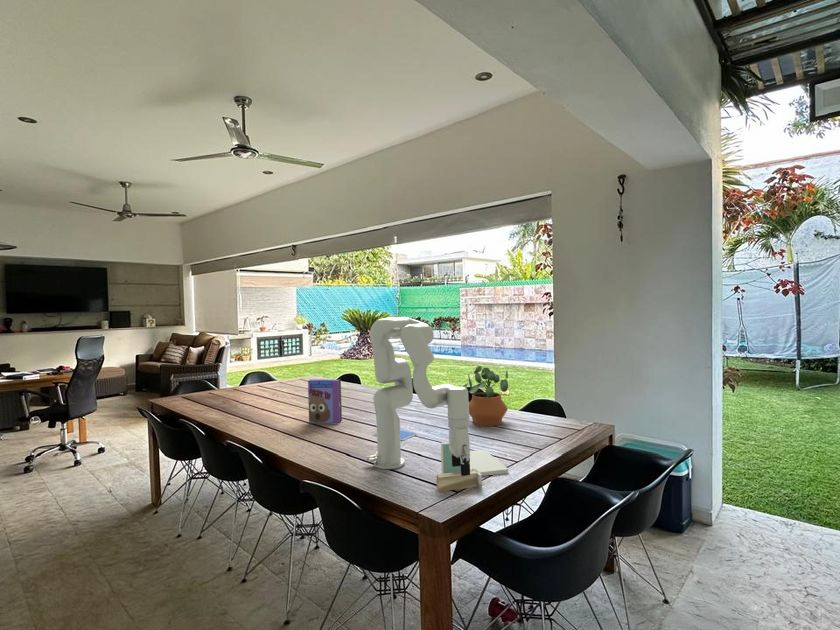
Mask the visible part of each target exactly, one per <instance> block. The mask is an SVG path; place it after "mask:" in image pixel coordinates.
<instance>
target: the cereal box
mask: <svg viewBox="0 0 840 630" xmlns="http://www.w3.org/2000/svg"><path fill="white" fill-rule="evenodd" d="M341 382H342V381H341V379H308V380H307V394H308V395H307V399H308V400H307V401H308V424H317V423H340V422H341V421H342V422H343V417H342V415H343V413H342V412H343V411H342V383H341ZM342 422H341V423H342ZM341 423H340V424H341Z"/></svg>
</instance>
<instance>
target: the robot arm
mask: <svg viewBox="0 0 840 630" xmlns="http://www.w3.org/2000/svg"><path fill="white" fill-rule="evenodd" d="M434 336H435V335H434V330H433V328H432V327H431V326H430V325H429V324H427V323H426V322H422V321H419V320H417V319H414V318H410V317H407V316H397V317H393V316H392V317H384V318H379V319H378V320H376V321H374V323H373V324H372V325H371V327H370V331H369V338H370V344H371V347H372V352H373V365H374V375H375V380H376V381H377V382H378V383H379V384H382V385H383V384H384V385H386V384H387V385H388V384H392V383H394V385H389V386H385V387H381V388H379V389H377V390H376V391H375V392H374V394H373V398H372V399H373V405H374V409H375V410H374V411H375V417H376V433H377V436H376V443H377V444H376V445H377V447H376V448H377V450H376V451H375V454H373V455H366V456H365V462H370V463H373V466H374V467H375V468H377V469H380V470H394V469H398V468H401V467H403V466H404V465H405V464H406V463H405V462H406V461H405V459H404V458H402V457H401V456H402V455H401V454H402V453H401V452H402V451H401V450H402V449H401V448H402V447H401V440H400V430H401V420H400V417H399V415H398V413H397V411H396V410H398V409H401V408H405V407H407V406H409V405H410V404H411V403H412V402H413V397H414V393H413V392H414V391H415V393H416V395H417V397H418V400H419V402H421V404H422V406H424V407H425V408H427V409H431V410H432V409H436V408H440V407H443V406H447V425H448V442H449V450H450V452H451V454H452V466H453V467H456V466H461V476H467V475H470V451H471V447H470V446H471V445H470V444H471V443H470V435H469V434H470V433H469V428H470V427H471V426H470V425H471V424H470V414H469V403H470V401H469V399H470V398H469V389H468V387H467V388H465V387H463V386H462V385H461V386H455V385H453V384H448V383H442V384H437V385H433V386H432V384H431V383H430V381H429V379H428V376H427V368H428V367H429V365H431V364H432V363H433V362H434V359H435V355H434V353H433V352H432V350H431V347H430V343H432V342H433V341H434V340H433V339H434ZM390 339H400V341H401V343H402V345H403V348H404V349H405V351H406V353H407V356H408V357H409V360H410V361H411V363H412V365H413V366H412V367H413V371H412V370H411V366H410V363H409V362H408V361H407V360H406V359H404V358H402V357H401V358H400V357H399V358H396V357H395V349H394V346H393V344H392V342H391V341H390ZM413 390H414V391H413ZM461 454H465V455H461ZM464 457H465V458H464ZM463 458H464V460H463ZM461 463H462V464H461Z"/></svg>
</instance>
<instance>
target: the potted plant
mask: <svg viewBox="0 0 840 630" xmlns="http://www.w3.org/2000/svg"><path fill="white" fill-rule="evenodd" d="M480 372H481V373H480ZM501 372H503V373H504V372H505V378H506V379H501V378H500V376H499V374H500V372H499V373H497V374H496V373H495V372H494V371H492V370H490V368H488V367H484V368H483V367H482V366H481V365H478V366H477V367H476V368H475V369H474V371H473V373H474V374H473V375H474V379H471V377H470V374H469V373H467V376H468V377H467V378H468V382H466V383H465V384H464V385H463V386H462V387H465V388H467V389H468V385H469V388H470V389H469V390H468V393H470V394H472V395H471V396H472V397H471V400H470V401H469V417H471V421H472V423H473V424H474V425H476V426H480V425H482V426H481V427H495V426H494V425H496V426H499V425H501V424H502V423H501V422H503V417H504V416H505V415H506V413H507V412H508V410H509V408H508V406H507V405H506V403H505V402H504V401H503V400H502V395H501V394H500V393H498V392H495V391H494V389H493V387H494V386H495V385H496V384H498V383H499V382H500V384H499V385H500V391H501V392H503V393H506V392H507V391H508V389H509V382H508V378H509V375H508V370H506V371H501ZM482 379H483V380H482ZM472 380H474V381H476V383H477V384H474V385H473V382H472ZM492 381H493V382H494V384H492ZM491 384H492V385H491ZM479 389H482V390H483V391H479Z"/></svg>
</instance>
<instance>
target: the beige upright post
mask: <svg viewBox="0 0 840 630" xmlns="http://www.w3.org/2000/svg"><path fill="white" fill-rule="evenodd" d="M482 478H483V476H482V475H481V474H480V473H479V472H478V471H477V470H476V469H475V468H472V470H470V475H467V476H461V472H452V473H444V474H442V473H438V474H437V473H436V489H437V490H438V492H440V493H441V492H447V491H454V490H462V489H471V488H476V487H477V489H479V490H482V489H483V479H482Z"/></svg>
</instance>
